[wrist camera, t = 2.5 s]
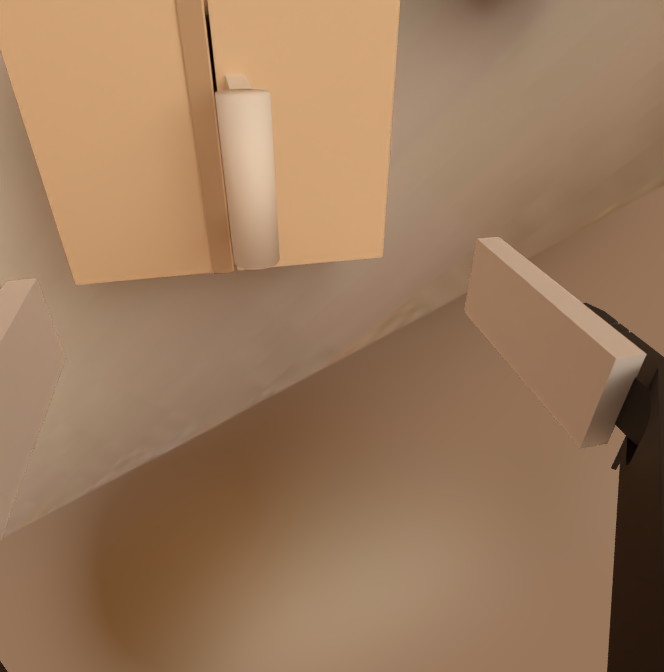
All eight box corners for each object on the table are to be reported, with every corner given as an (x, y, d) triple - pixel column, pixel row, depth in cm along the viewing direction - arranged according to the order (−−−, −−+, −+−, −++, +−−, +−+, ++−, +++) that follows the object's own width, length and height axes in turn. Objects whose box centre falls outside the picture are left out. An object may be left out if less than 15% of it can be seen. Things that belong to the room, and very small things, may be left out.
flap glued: (-12, -6, 24) (-19, -6, 23) (202, -5, 25) (202, -5, 24) (78, 279, 32) (74, 286, 31) (233, 265, 34) (234, 272, 33)
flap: (202, -5, 25) (203, -4, 19) (395, -4, 27) (457, -2, 21) (233, 265, 34) (242, 329, 27) (379, 252, 36) (419, 309, 29)
